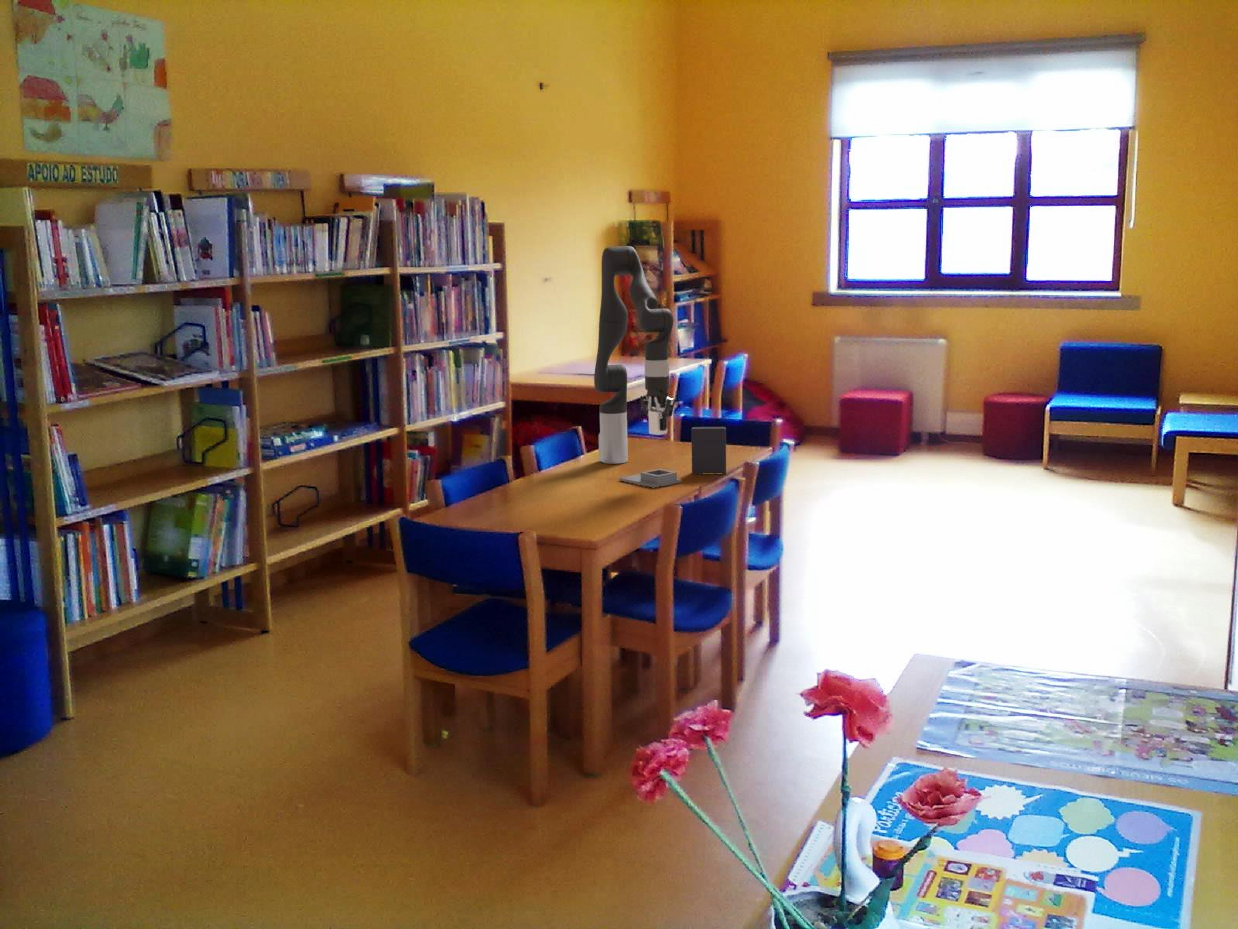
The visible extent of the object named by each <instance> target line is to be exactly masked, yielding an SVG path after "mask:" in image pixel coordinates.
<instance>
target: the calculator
mask: <svg viewBox="0 0 1238 929" xmlns="http://www.w3.org/2000/svg"><path fill="white" fill-rule="evenodd" d="M690 432H691V433H690V434H691V474H692V475H704V474H703V473H722V474H721V475H726V474H727V428H726V426H698V427H697V426H694V427H693V426H692V428H691V430H690Z"/></svg>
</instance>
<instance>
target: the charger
mask: <svg viewBox="0 0 1238 929" xmlns="http://www.w3.org/2000/svg"><path fill="white" fill-rule="evenodd" d="M662 412H663V414H664V411H662ZM648 434H650V435H655V436H660V435H666V434H668V428H667V429H666V430H664V431H660V416H659V412H658V411H657V408H655V410H652V411H649V417H648Z"/></svg>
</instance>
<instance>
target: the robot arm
mask: <svg viewBox="0 0 1238 929" xmlns="http://www.w3.org/2000/svg"><path fill="white" fill-rule="evenodd" d="M628 275H630V276H631V277H632V280H631V283H630V287H629V291H628V292H629V293H628V294H629V298H630V301H631V303H632V305H633V306H634V308H635V310H636V312H637V314H636V315H637V319H638V320H637V321H638V325H639V328H640V329H641V330H642V331H643V332H645V333H658V334H657V336H656V338H654V339H650V340H648V341H646V342H645V346H644V350H645V351H644V353H645V354H644V355H645V356H644V357H645V362H644V389H645V390H646V394H645V395H640V396H639V398H640V402H641V406H642V411H643V414H644V415H646V416H647V417H648V418H649V411H653V410H655V408H657V411H658V412H659V416H660V431H664V430H666V429H667V430H668V418H670V417H672V416H673V411H674V407H675V404H676V399H675V398H674V397H673V398H671V397H669V393H668V391H669V390H670V386H671V385H670V363H669V343H670V339H671V335H672V330H673V327H674V315H673V313H672V311H671V310H670V309H669V308H666V307H665V308H659V301H658V299H657V296H656V295H655V294H654V292H653V290H652V288H651V287H650V285H649V283H648V280H647V277H646V274H645V271H644V268H643V266H642V262H641V260H640V257H639V254H638V252H637V251H636V249H635V248H634V247H633V246H631V245H619V246H608V247H605V248H604V250H602V255H601V295H600V296H601V297H600V308H599V309H600V310H599V311H600V312H599V318H598V319H599V320H598V343H597V352H596V353H597V354H596V360H595V366H594V373H593V374H594V376H593V383H594V384H593V385H594V388H595V391H596V392H598V393H600V394H601V393H614V395H613V396H612V397H611V398H610V399H608V400H605V401H603V402H601V403H600V404H599V430H600V431H599V433H598V461H600V462H601V463H602V462H603V463H602V464H609V465H610V464H611V465H613V464H614V465H615V464H617V465H618V464H625V463H627V462H628V461H629V459H628V456H629V454H628V418H627V417H628V416H627V415H628V412H627V411H628V410H627V406H628V400H627V398H628V394H627V393H628V371H627V368H626V366H625V365H624V364H609V361H610V358H611V355H612V354H613V352H614V351H615V349H616V348H617V347H618V345H620V343H621V342H622V340H623V339H624V337H625V335H626V334H627V328H628V327H627V326H628V318H629V315H628V309H627V307H626V305H625V303H624V302H623V300H622V299H621V297H620V296H619V294H618V292H617V290H616V284H615V276H628ZM662 411H664V414H663V412H662Z"/></svg>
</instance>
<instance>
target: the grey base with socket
mask: <svg viewBox="0 0 1238 929" xmlns="http://www.w3.org/2000/svg"><path fill="white" fill-rule="evenodd" d="M677 473H678V472H677V471H672V470H665V469H661V468H657V469H652V470H648V471H642V472H640V473H637V474H632V475H629V476H628V475H627V476H622V477H618V478H619V479H618V481H619V480H620V481H619V482H621V481H624V482H623V483H626V482H629V483H628V484H631V483H635V484H639V485H638V486H640V485H643V486H642V487H645V486H649V487H652V488H651V489H656V488H655V487H657V488H660V487H659V486H662V487H666V486H671V485H676V483H677V484H679V483H680V484H682V478H678V474H677ZM635 484H634V485H635ZM649 487H648V488H649Z"/></svg>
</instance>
